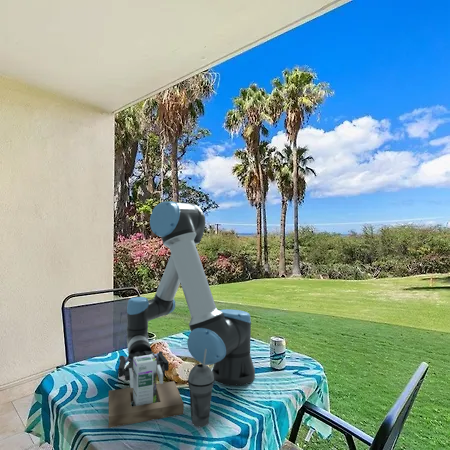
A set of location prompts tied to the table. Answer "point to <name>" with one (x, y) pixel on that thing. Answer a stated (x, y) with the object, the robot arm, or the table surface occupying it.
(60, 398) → the table surface
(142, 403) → the syrup box
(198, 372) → the beverage cup
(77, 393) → the table surface
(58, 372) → the table surface
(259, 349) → the table surface
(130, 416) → the walnut board
